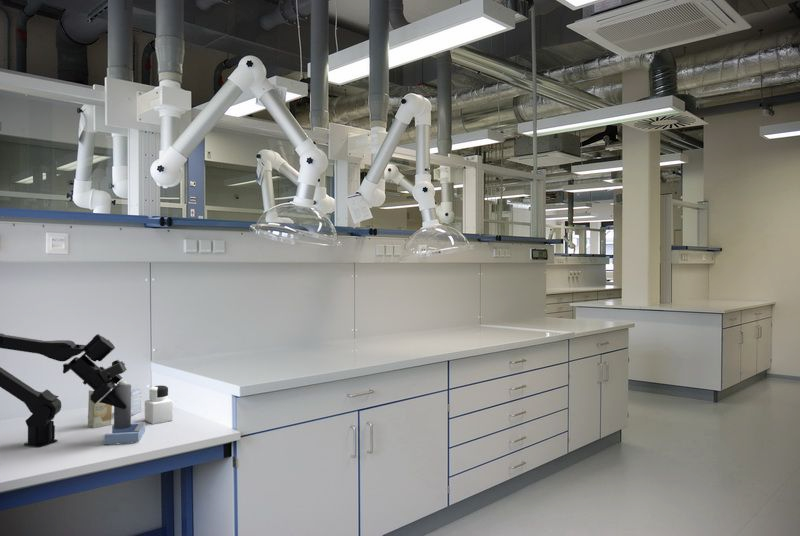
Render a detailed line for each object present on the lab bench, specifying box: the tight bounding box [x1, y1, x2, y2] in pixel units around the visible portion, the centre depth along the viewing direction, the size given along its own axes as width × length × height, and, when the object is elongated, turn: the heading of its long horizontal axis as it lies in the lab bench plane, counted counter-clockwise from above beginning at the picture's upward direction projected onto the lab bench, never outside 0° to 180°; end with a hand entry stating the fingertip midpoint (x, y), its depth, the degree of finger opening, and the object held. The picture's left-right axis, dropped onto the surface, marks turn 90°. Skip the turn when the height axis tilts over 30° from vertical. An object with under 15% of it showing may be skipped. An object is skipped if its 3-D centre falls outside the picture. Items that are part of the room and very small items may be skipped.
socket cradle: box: [103, 422, 146, 445], centre depth 186 cm, size 10×12×3 cm
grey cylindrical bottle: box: [113, 380, 132, 429], centre depth 186 cm, size 5×5×14 cm
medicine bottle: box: [144, 385, 174, 425], centre depth 207 cm, size 7×7×12 cm
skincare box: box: [87, 389, 113, 429], centre depth 201 cm, size 6×4×12 cm
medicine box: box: [131, 388, 142, 417], centre depth 216 cm, size 8×4×9 cm, turn 172°
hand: (127, 406), depth 187 cm, fingers closed on grey cylindrical bottle, 5 cm apart
